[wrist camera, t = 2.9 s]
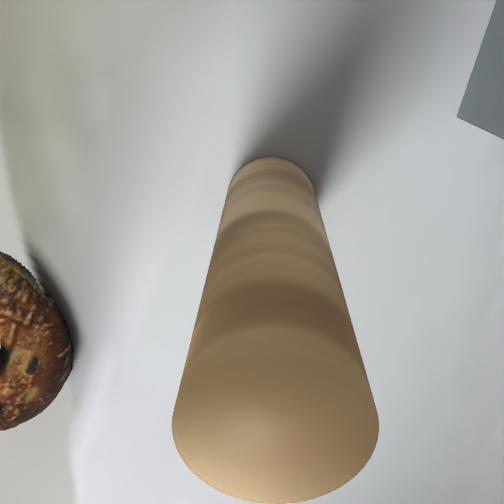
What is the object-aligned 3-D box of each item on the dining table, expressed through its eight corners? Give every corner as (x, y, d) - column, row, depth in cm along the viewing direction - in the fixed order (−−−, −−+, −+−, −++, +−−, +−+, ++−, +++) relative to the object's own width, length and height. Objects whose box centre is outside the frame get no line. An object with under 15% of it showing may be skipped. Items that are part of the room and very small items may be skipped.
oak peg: (304, 246, 23) (349, 515, 10) (221, 232, 23) (162, 488, 10) (323, 165, 21) (405, 367, 9) (234, 149, 21) (184, 331, 8)
